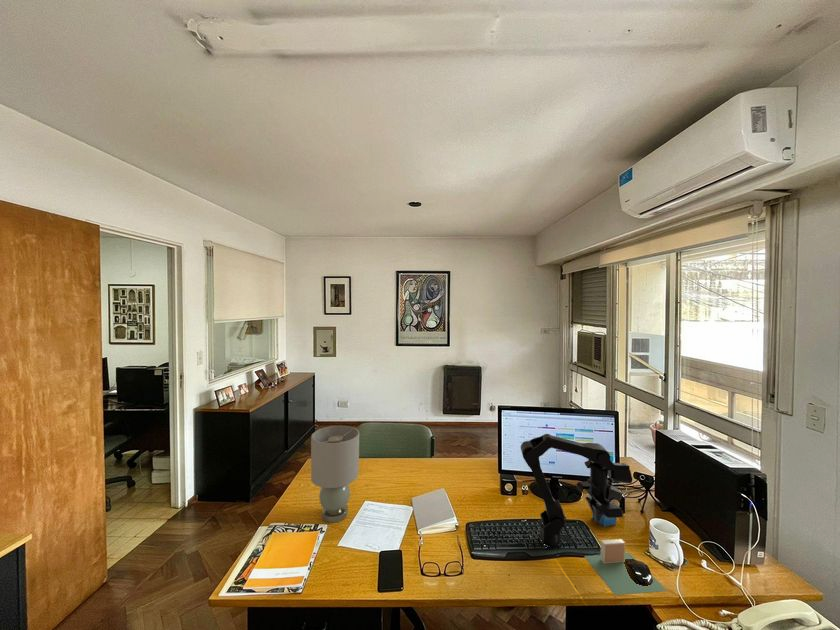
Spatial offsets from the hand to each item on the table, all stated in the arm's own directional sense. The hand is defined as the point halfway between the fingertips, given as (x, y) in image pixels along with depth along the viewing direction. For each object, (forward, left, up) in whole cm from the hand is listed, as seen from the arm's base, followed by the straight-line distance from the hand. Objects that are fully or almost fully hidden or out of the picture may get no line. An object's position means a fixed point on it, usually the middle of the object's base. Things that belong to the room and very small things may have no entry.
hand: (597, 520), depth 120 cm
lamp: (-101, +29, -11) cm, 106 cm away
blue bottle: (+14, +15, -11) cm, 23 cm away
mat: (+2, -11, -11) cm, 16 cm away
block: (+2, -6, -11) cm, 12 cm away
